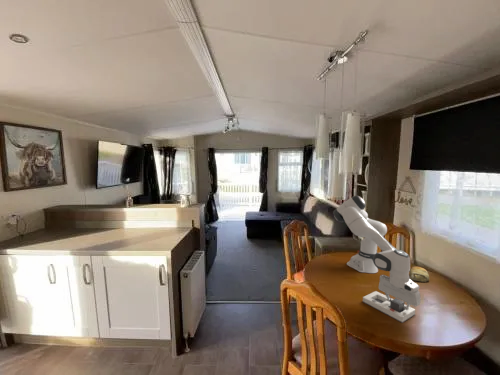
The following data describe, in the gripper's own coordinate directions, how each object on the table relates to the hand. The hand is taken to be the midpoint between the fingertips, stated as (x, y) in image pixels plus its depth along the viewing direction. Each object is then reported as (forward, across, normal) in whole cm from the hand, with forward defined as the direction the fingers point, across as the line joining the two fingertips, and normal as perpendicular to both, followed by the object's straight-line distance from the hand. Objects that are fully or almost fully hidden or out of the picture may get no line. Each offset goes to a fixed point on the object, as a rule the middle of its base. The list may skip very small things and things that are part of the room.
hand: (397, 305), depth 131 cm
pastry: (+5, -14, +54) cm, 56 cm away
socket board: (+4, -5, 0) cm, 7 cm away
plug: (+4, 0, 0) cm, 4 cm away
